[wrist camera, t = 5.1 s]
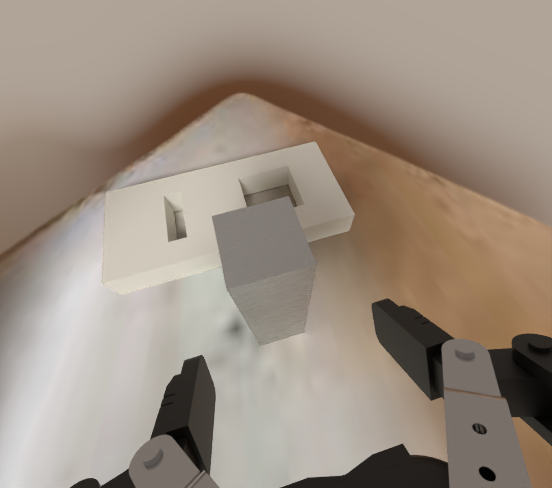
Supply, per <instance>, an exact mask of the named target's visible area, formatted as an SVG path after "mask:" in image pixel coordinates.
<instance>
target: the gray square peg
mask: <svg viewBox="0 0 552 488" xmlns="http://www.w3.org/2000/svg"><path fill="white" fill-rule="evenodd" d="M212 220H213V225H214V230H215V235H216V239H217V244H218V249H219V254H220V259H221V263H222V268H223V273H224V278H225V283H226V287H227V291H228V292H229V294H230V296H231V297H232V299H233V301H234V302H235V304H236V306H237V307H238V309H239V311H240V312H241V314H242V316H243V318H244V319H245V321H246V323H247V324H248V326H249V328H250V329H251V331H252V333H253V334H254V336H255V338H256V339H257V341H258V343H259V344H260V346H261V345H265V344H268V343H271V342H274V341H277V340H281V339H284V338H287V337H290V336H293V335H297V334H300V333H303V332H304V330H305V324H306V319H307V313H308V308H309V302H310V297H311V291H312V286H313V280H314V275H315V270H316V261H315V259H314V256H313V254H312V251H311V249H310V247H309V244H308V242H307V239H306V237H305V234H304V232H303V229H302V227H301V224H300V222H299V219H298V217H297V215H296V212H295V210H294V207H293V205H292V202H291V200H290V197H289V196H287V197H283V198H279V199H275V200H271V201H267V202H264V203H260V204H256V205H252V206H248V207H244V208H241V209H237V210H233V211H229V212H225V213H221V214H217V215H214V216H212Z"/></svg>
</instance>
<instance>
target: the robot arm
mask: <svg viewBox="0 0 552 488" xmlns="http://www.w3.org/2000/svg"><path fill="white" fill-rule="evenodd" d="M372 313H373V319H374V325H375V331H376V335H377V338H378V340H379V342H380V343H381V345H382V346H383V347H384V348H385V349H386V351H387V352H388V353H389V354H390V355H391V356H392V357H393V358H394V360H395V361H396V362H397V363H398V364H399V365H400V366H401V367H402V369H403V370H404V371H405V372H406V373H407V374H408V375H409V376H410V378H411V379H412V380H413V381H414V382H415V383H416V384H417V385H418V387H419V388H420V389H421V390H422V391H423V392H424V393H425V394H426V396H427V397H428V398H429V399H430V400H431V401H432V400H434V399H437V398H440V397H442V398H443V399H444V403H445V420H446V436H447V453H448V463H447V462H445V461H442V460H439V459H436V458H433V457H428V456H421V455H410V454H409V453H408V451H407V450H406V448H405V446H404V445H403V444H400V445H398V446H395V447H392V448H389V449H387V450H384V451H381V452H378V453H376V454H373V455H371V456H370V457H369V458H367V459H366V460H365V461H363V462H362V463H361V464H359V465H358V466H357V467H355V468H354V469H353V470H351V471H350V472H349V473H347V474H346V475H343V476H330V477H313V478H306V479H303V480H301V481H298V482H295V483H292V484H290V485H287V486H284V487H281V488H532V486H531V483H530V479H529V476H528V472H527V469H526V465H525V462H524V459H523V455H522V452H521V448H520V445H519V441H518V438H517V434H516V431H515V427H514V424H513V421H512V417H520V418H521V419H522V420H524V421H525V422H526V423H527V424H528V425H529V426H530V427H531V428H532V429H534V430H535V431H536V432H537V433H538V434H539V435H540V436H541V437H542V438H543V439H545V440H546V441H547V442H548V443H549V444H550V445H551V446H552V338H550V337H547V336H543V335H538V334H521V335H517V336H515V337H514V338H513V339H512V348H508V349H492V350H487V349H486V348H485V347H483V346H482V345H480V344H479V343H476V342H474V341H471V340H466V339H454V338H453V337H452V336H450V335H449V334H448V333H446V332H445V331H443V330H442V329H441V328H439V327H438V326H436V325H435V324H434V323H432V322H430V320H428V319H427V318H425V317H423V315H421V314H420V313H419V312H417V311H416V310H414V309H412V308H409V307H406V306H398V305H396V304H395V303H394V302H393V301H391V300H390V299H384V300H381V301H378V302H375V303H372ZM215 399H216V395H215V387H214V383H213V381H212V378H211V375H210V372H209V370H208V367H207V364H206V362H205V359H204V357H203V356H202V355H200V356H197V357H193V358H190V359H187V360H185V361H184V363H183V367H182V371H181V374H179V375H175V376H174V377H173V378H172V380H171V381H170V383H169V384H168V385H167V387H166V390H165V394H164V399H163V400H162V403H161V408H160V410H159V413H158V416H157V419H156V422H155V426H154V429H153V432H152V435H151V438H150V440H149V441H148V442H146V443H145V444H144V445H143V446H142V447H141V448H140V449H139V450H138V451H137V452H136V454H135V455H134V457H133V458H132V461H131V463H130V466H129V469H127V470H126V471H125V472H123V473H122V474H120V475H118V476H117V477H115V478H114V479H112V480H110V481H109V482H107V483H106V484H104V485H102V486H100V484H99V482H98V481H97V480H96V479H94V478H88V479H84V480H82V481H80V482H78V483H76V484H74V485H73V486H72V487H70V488H219V486H218V485H217V484H216V483H215V482H214V481H213V479H212V478H211V477H210V466H211V453H212V439H213V426H214V413H215Z"/></svg>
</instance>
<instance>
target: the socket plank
mask: <svg viewBox="0 0 552 488" xmlns="http://www.w3.org/2000/svg"><path fill="white" fill-rule="evenodd" d="M284 185H289V188H290V190H291V193H292V195H293V197H294V200H295V202H296V205H297V206H296V207H294V210H295V212H296V215H297V217H298V219H299V222H300V224H301V227H302V229H303V232H304V234H305V237H306V239H307V242H312V241H315V240H319V239H323V238H326V237H330V236H333V235H337V234H340V233H344V232H348V231H349V230H350V227H351V224H352V221H353V219H354V216H355V214H354V212H353V210H352V208H351V206H350V204H349V203H348V201H347V199H346V197H345V195H344V193H343V191H342V190H341V188H340V186H339V184H338V182H337V180H336V179H335V177H334V175H333V173H332V171H331V169H330V167H329V166H328V164H327V162H326V160H325V158H324V156H323V155H322V153H321V151H320V149H319V147H318V145H317V143H316V142H315V141H314V142H310V143H306V144H302V145H298V146H294V147H290V148H286V149H281V150H277V151H273V152H269V153H265V154H261V155H257V156H253V157H248V158H244V159H240V160H236V161H232V162H228V163H224V164H219V165H215V166H211V167H207V168H203V169H199V170H195V171H191V172H186V173H182V174H178V175H174V176H170V177H166V178H162V179H158V180H153V181H149V182H145V183H141V184H137V185H133V186H129V187H125V188H120V189H116V190H112V191H108V192H105V212H104V237H103V263H102V284H103V285H105V286H106V287H108V288H110V289H111V290H113V291H115V292H116V293H118V294H119V295H122V294H126V293H129V292H133V291H136V290H140V289H144V288H147V287H151V286H154V285H158V284H161V283H165V282H169V281H172V280H176V279H179V278H183V277H186V276H190V275H194V274H197V273H201V272H204V271H208V270H212V269H215V268H219V267H222V263H221V259H220V254H219V249H218V244H217V239H216V235H215V230H214V225H213V220H212V216H214V215H217V214H221V213H225V212H229V211H233V210H237V209H241V208H244V207H247V205H246V202H245V199H244V196H245V195H249V194H253V193H257V192H260V191H264V190H268V189H272V188H276V187H280V186H284ZM181 210H183V213H184V220H185V227H186V234H187V237H186V238H182V239H178V240H177V232H176V224H175V215H174V212H177V211H181Z"/></svg>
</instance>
